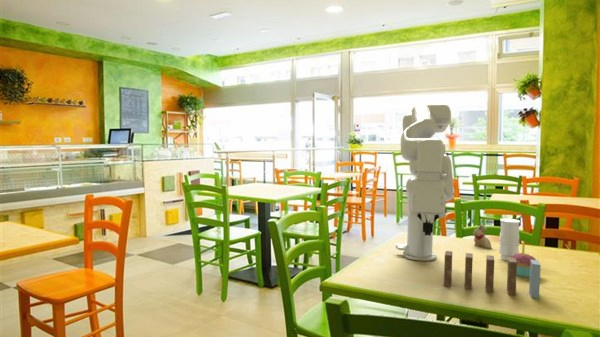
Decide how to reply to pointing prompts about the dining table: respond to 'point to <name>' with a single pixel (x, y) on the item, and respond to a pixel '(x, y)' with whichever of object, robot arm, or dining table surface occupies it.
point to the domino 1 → (448, 269)
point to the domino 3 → (489, 273)
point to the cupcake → (523, 262)
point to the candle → (509, 238)
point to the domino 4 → (511, 276)
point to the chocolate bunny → (481, 238)
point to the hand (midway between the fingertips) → (427, 234)
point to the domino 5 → (534, 279)
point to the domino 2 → (468, 271)
